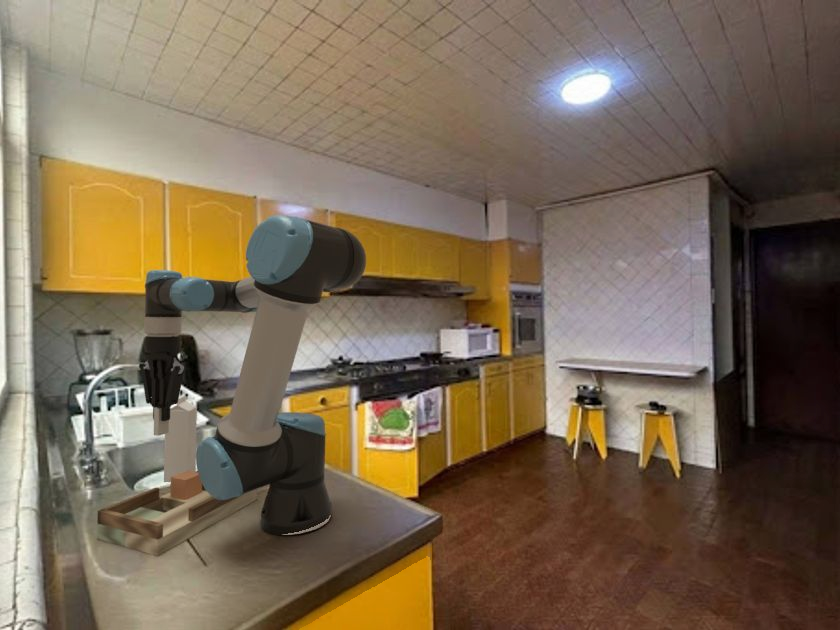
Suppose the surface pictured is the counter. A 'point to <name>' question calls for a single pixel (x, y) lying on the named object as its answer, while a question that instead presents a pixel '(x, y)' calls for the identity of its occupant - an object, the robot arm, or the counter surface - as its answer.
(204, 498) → the box
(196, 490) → the block
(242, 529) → the counter surface
